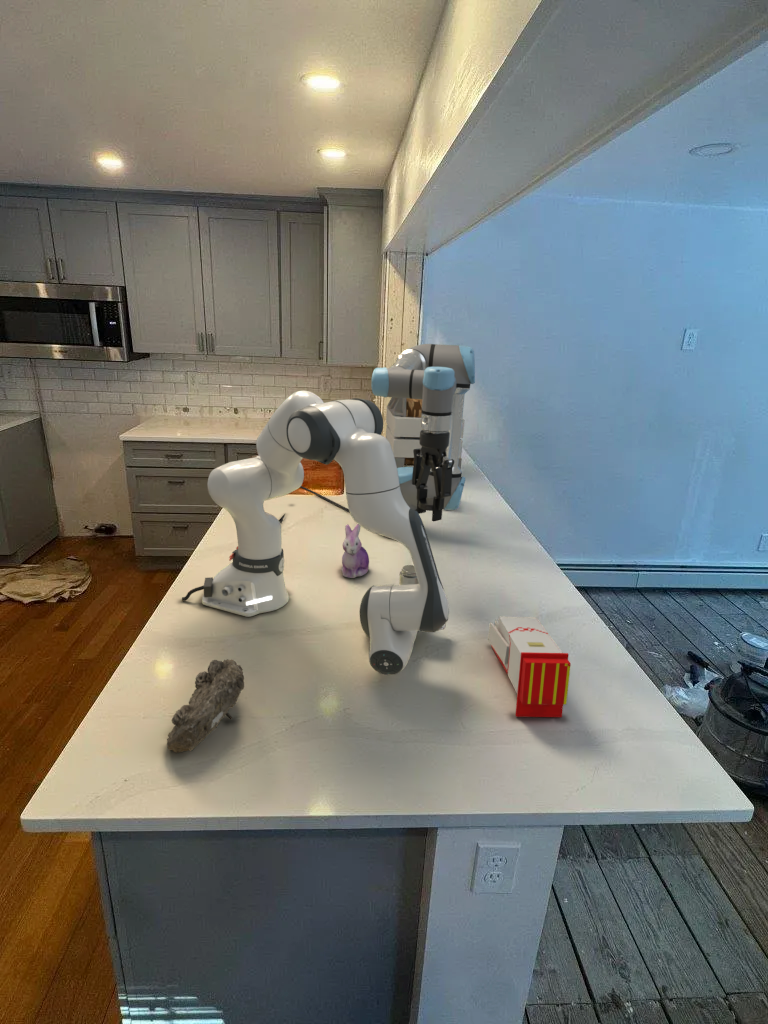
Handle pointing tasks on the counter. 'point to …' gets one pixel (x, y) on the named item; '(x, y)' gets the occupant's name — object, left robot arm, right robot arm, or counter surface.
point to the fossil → (206, 705)
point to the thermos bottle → (408, 576)
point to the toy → (531, 665)
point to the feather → (281, 518)
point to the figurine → (354, 554)
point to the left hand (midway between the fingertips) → (409, 596)
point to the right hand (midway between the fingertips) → (428, 516)
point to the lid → (426, 504)
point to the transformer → (407, 429)
